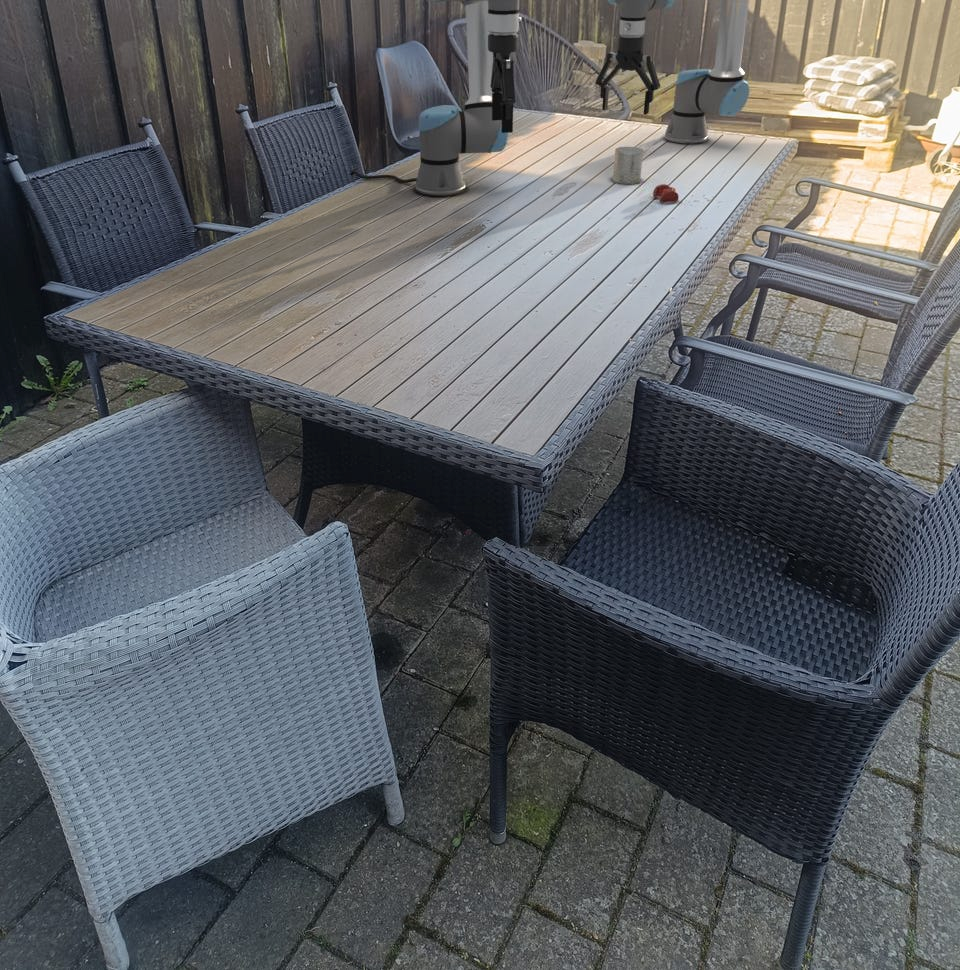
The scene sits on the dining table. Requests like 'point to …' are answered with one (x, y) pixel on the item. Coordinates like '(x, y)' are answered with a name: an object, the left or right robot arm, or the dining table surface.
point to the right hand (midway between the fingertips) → (625, 111)
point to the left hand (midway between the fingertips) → (502, 126)
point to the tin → (627, 165)
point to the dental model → (665, 193)
